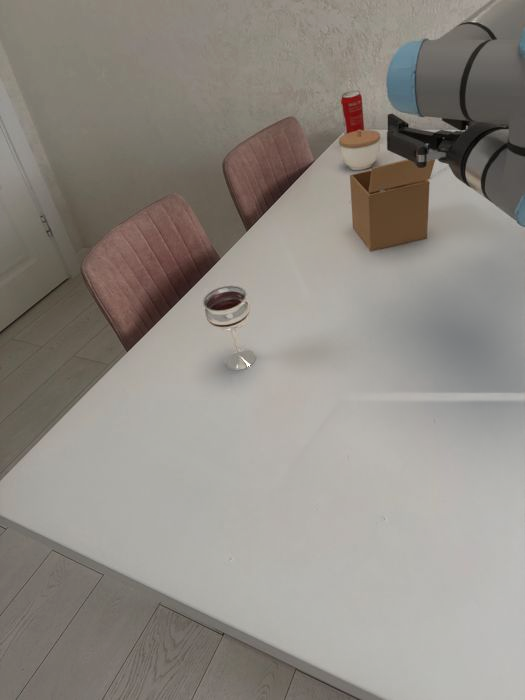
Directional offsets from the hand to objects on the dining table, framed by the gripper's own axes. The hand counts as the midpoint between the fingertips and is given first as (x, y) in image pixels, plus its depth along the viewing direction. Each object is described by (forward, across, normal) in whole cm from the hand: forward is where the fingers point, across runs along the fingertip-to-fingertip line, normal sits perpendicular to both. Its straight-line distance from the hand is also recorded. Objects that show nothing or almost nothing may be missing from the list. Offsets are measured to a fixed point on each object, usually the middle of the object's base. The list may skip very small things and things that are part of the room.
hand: (417, 116), depth 78 cm
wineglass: (-17, -36, -26) cm, 48 cm away
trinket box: (+53, +7, -26) cm, 60 cm away
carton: (+13, 0, -26) cm, 29 cm away
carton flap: (+6, 0, -11) cm, 13 cm away
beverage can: (+69, +10, -26) cm, 74 cm away
